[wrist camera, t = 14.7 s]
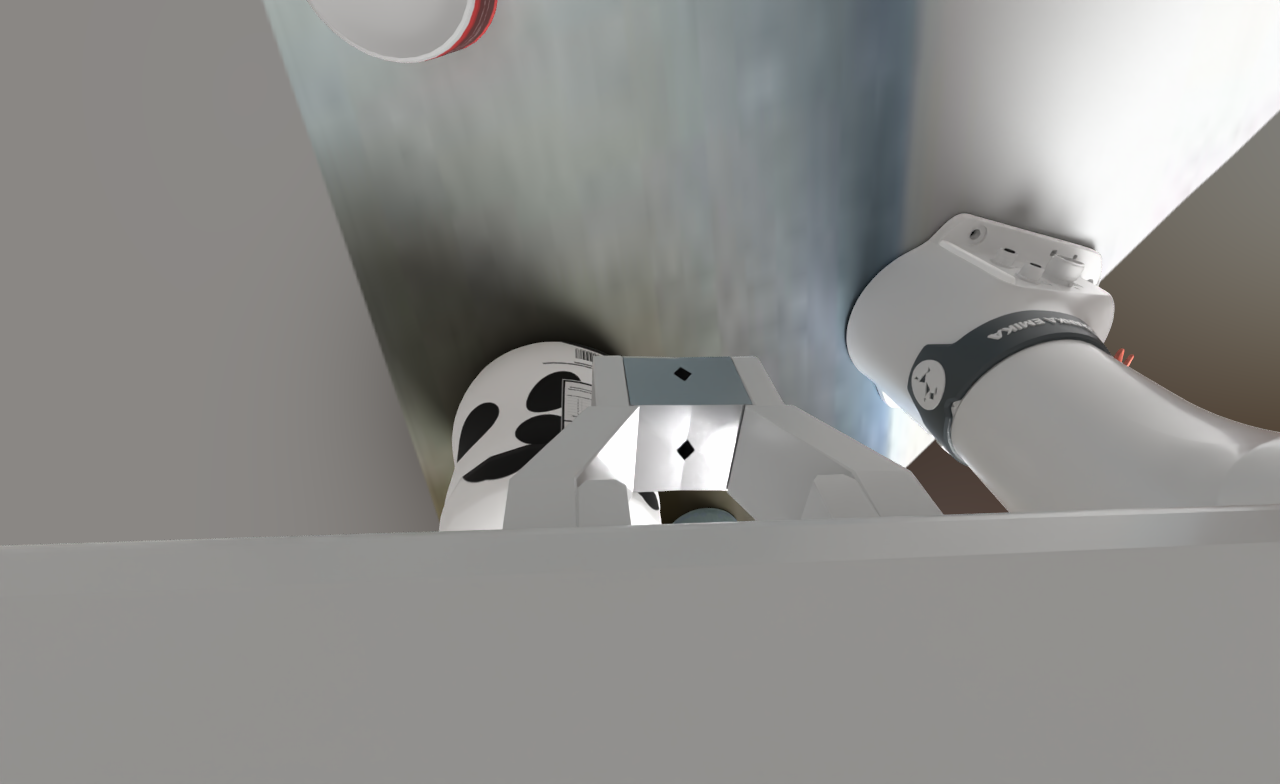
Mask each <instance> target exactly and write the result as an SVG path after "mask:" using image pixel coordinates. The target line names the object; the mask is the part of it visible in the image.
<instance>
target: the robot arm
mask: <svg viewBox="0 0 1280 784" xmlns="http://www.w3.org/2000/svg"><path fill="white" fill-rule="evenodd" d="M974 230H975V233H974V234H973V235H972V236H970V234H971V233H972V231H974ZM1101 273H1102V257H1101V255H1100V254H1099V253H1098V252H1096V251H1095V250H1093V249H1091V248H1088V247H1085V246H1082V245H1078V244H1075V243H1071V242H1067V241H1064V240H1060V239H1057V238H1053V237H1050V236H1046V235H1042V234H1039V233H1035V232H1032V231H1028V230H1025V229H1021V228H1017V227H1014V226H1010V225H1007V224H1003V223H999V222H996V221H992V220H989V219H985V218H982V217H978V216H974V215H971V214H966V213H962V214H958V215H956V216H954V217H953V218H951V219H950V220H949V221H947V222H946V223H945V224H944V225H943V226H942V227H941V228H940V229H939V230H938V231H937V232H936V233H935V234H934V235H933V236H932V237H931V238H930V239H929V240H928V241H926V242H925V243H923V244H922V245H920V246H919V247H917V248H915V249H913V250H911V251H909V252H907V253H905V254H904V255H902V256H900V257H899V258H897V259H896V260H894V261H893V262H891V263H890V264H889V265H887V266H886V267H885V268H884V269H883V270H881V271H880V272H879V273H878V274H877V275H876V276H875V277H874V278H873V279H872V281H871V282H870V283H869V284H868V285H867V287H866V288H865V289H864V291H863V292H862V294H861V295H860V297H859V298H858V300H857V302H856V304H855V306H854V308H853V310H852V313H851V316H850V319H849V322H848V327H847V348H848V352H849V355H850V358H851V360H852V362H853V363H854V365H855V366H856V368H857V369H858V370H859V371H860V372H861V373H862V374H864V375H865V376H866V377H868V378H869V379H870V380H872V381H873V382H874V383H875V384H876V387H877V390H878V392H879V395H880V397H881V399H882V400H883V401H884V402H885V403H886V404H887V405H888V406H890V407H893V408H897V407H900V408H901V409H902V410H903V411H904V412H905V413H906V414H907V415H908V416H909V417H910V418H911V419H913V420H914V421H915V422H916V423H917V424H918V425H919V426H920V427H921V428H922V429H924V430H925V431H926V432H927V433H928V434H929V435H931V436H932V437H935V438H936V440H937V443H938V444H939V445H940V446H941V447H942V448H943V449H944V450H945V451H946V452H948V453H949V454H950V455H951V456H953V458H955V459H956V460H957V461H958V462H960V463H962V464H964V465H966V466H969V467H970V468H971V469H972V471H973V472H974V473H975V474H976V475H977V476H978V477H979V479H980V480H981V481H982V482H983V483H984V484H985V485H986V486H987V488H988V489H989V490H990V491H991V492H992V493H993V494H994V496H995V497H996V498H997V499H998V500H999V501H1000V502H1001V503H1002V504H1003V505H1004V507H1005V508H1006V509H1007V510H1008V511H1009V512H1010V513H984V514H955V515H943V514H942V512H941V511H940V510H939V508H938V507H937V506H936V504H935V503H934V502H933V500H932V499H931V498H930V496H929V495H928V493H927V492H926V491H925V489H924V488H923V487H922V485H921V484H920V483H919V481H918V480H917V479H916V477H915V476H914V475H913V473H912V472H911V471H909V470H908V469H906V468H904V467H902V466H901V465H899V464H897V463H895V462H893V461H892V460H890V459H888V458H886V457H884V456H883V455H881V454H879V453H877V452H876V451H874V450H872V449H870V448H868V447H867V446H865V445H863V444H861V443H860V442H858V441H856V440H854V439H852V438H851V437H849V436H847V435H845V434H844V433H842V432H840V431H838V430H836V429H835V428H833V427H831V426H829V425H828V424H826V423H824V422H822V421H820V420H819V419H817V418H815V417H813V416H811V415H810V414H808V413H806V412H804V411H803V410H801V409H799V408H797V407H795V406H794V405H784V403H783V401H782V399H781V398H780V396H779V394H778V392H777V390H776V389H775V387H774V385H773V383H772V382H771V380H770V378H769V376H768V375H767V373H766V371H765V369H764V367H763V366H762V364H761V362H760V360H759V359H758V358H757V357H755V356H741V357H688V358H676V357H643V356H622V357H621V356H620V355H618V356H593V362H592V399H591V406H588V407H587V408H586V409H585V410H584V411H582V412H581V413H580V414H579V415H578V416H577V417H576V418H575V419H574V420H573V421H572V422H571V423H570V424H568V425H567V426H566V427H565V428H564V429H563V430H562V431H561V432H560V433H559V434H558V435H557V436H556V437H555V438H553V439H552V440H551V441H550V442H549V443H548V444H547V445H546V446H545V447H544V448H543V449H542V450H541V451H539V452H538V453H537V454H536V455H535V456H534V457H533V458H532V459H531V460H530V461H529V462H528V463H527V464H526V465H524V466H523V467H522V468H521V469H520V470H519V471H518V472H517V473H516V474H515V475H514V476H513V477H512V478H510V479H509V485H508V492H507V500H506V507H505V514H504V521H503V528H502V529H496V530H466V531H437V532H436V531H435V532H408V533H407V532H405V533H377V534H376V533H375V534H344V535H315V536H314V535H313V536H284V537H283V536H282V537H253V538H224V539H223V538H222V539H192V540H161V541H131V542H104V543H103V542H100V543H71V544H40V545H11V546H0V784H1280V432H1275V431H1269V430H1265V429H1261V428H1256V427H1252V426H1249V425H1245V424H1242V423H1239V422H1235V421H1232V420H1229V419H1226V418H1224V417H1221V416H1218V415H1215V414H1213V413H1211V412H1209V411H1206V410H1204V409H1202V408H1199V407H1197V406H1195V405H1193V404H1191V403H1189V402H1187V401H1186V400H1184V399H1182V398H1180V397H1179V396H1177V395H1175V394H1173V393H1172V392H1170V391H1168V390H1167V389H1165V388H1163V387H1162V386H1160V385H1158V384H1157V383H1155V382H1153V381H1152V380H1150V379H1148V378H1146V377H1145V376H1143V375H1141V374H1140V373H1138V372H1136V371H1135V370H1133V369H1132V368H1130V367H1128V366H1129V364H1130V362H1131V360H1132V359H1133V357H1134V356H1133V355H1130V356H1129V357H1128V358H1127V359H1126V360H1125V362H1124V363H1122V358H1123V354H1124V349H1119V350H1118V351H1117V353H1116V354H1115V356H1114V358H1113V357H1112V356H1111V354H1110V352H1109V351H1108V349H1107V348H1106V347H1105V345H1104V344H1103V343H1104V341H1105V339H1106V337H1107V335H1108V332H1109V330H1110V327H1111V324H1112V321H1113V315H1114V302H1113V299H1112V296H1111V295H1110V294H1109V293H1107V292H1106V291H1105V290H1103V289H1101V288H1100V287H1099V283H1100V279H1101ZM673 490H727V493H728V494H729V495H730V496H731V497H732V498H733V499H734V500H735V501H737V502H738V503H739V504H740V505H741V506H742V507H743V508H744V509H745V510H746V511H747V512H748V513H749V514H750V515H751V516H752V517H753V518H754V519H755V520H756V521H741V522H710V523H680V524H649V525H631V519H630V511H629V504H628V502H629V500H630V499H631V497H632V495H633V493H635V492H654V491H673Z"/></svg>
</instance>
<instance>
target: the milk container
mask: <svg viewBox="0 0 1280 784" xmlns="http://www.w3.org/2000/svg"><path fill="white" fill-rule="evenodd" d="M593 356H609V355H607V354H606V353H604V352H602V351H599V350H597V349H594V348H591V347H588V346H584V345H581V344H577V343H572V342H539V343H534V344H530V345H526V346H523V347H519V348H517V349H514V350H512V351H509V352H507V353H505V354H503V355H502V356H500V357H498V358H497V359H495V360H494V361H492V362H491V363H490V364H488V365H487V366H486V367H485V368H484V369H483V370H482V371H481V372H480V373H479V374H478V376H477V377H476V378H475V379H474V381H473V382H472V383H471V385H470V386H469V388H468V390H467V391H466V393H465V395H464V397H463V399H462V401H461V403H460V405H459V408H458V410H457V413H456V417H455V421H454V425H453V434H452V449H453V457H454V464H455V470H454V473H453V476H452V479H451V482H450V485H449V489H448V492H447V496H446V500H445V506H444V508H443V511H442V515H441V518H440V527H439V531H466V530H496V529H502V528H503V521H504V514H505V507H506V500H507V492H508V485H509V479H510V478H512V477H513V476H514V475H515V474H516V473H517V472H518V471H519V470H520V469H521V468H522V467H523V466H524V465H526V464H527V463H528V462H529V461H530V460H531V459H532V458H533V457H534V456H535V455H536V454H537V453H538V452H539V451H541V450H542V449H543V448H544V447H545V446H546V445H547V444H548V443H549V442H550V441H551V440H552V439H553V438H555V437H556V436H557V435H558V434H559V433H560V432H561V431H562V430H563V429H564V428H565V427H566V426H567V425H568V424H570V423H571V422H572V421H573V420H574V419H575V418H576V417H577V416H578V415H579V414H580V413H581V412H582V411H584V410H585V409H586V408H587V407H588V406H591V399H592V362H593ZM628 504H629V511H630V519H631V525H649V524H662V523H661V517H660V500H659V495H658V491H654V492H635V493H633V495H632V497H631V499H630V500H629V502H628Z"/></svg>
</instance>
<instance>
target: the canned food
mask: <svg viewBox="0 0 1280 784" xmlns="http://www.w3.org/2000/svg"><path fill="white" fill-rule="evenodd" d="M307 2H308V3H309V5H310V6H311V7H312V9H313V10H314V11H315V13H316V14H317V15H318V17H319V18H320V19H321V20H322V21H323V22H324V23H325V24H326V25H327V26H328V27H329V28H330V29H331V30H332V31H333V32H334V33H335V34H337V35H338V36H339V37H341V38H342V39H343V40H344V41H346V42H347V43H348V44H350V45H351V46H353V47H355V48H357V49H359V50H361V51H362V52H364V53H366V54H369V55H371V56H374V57H377V58H380V59H383V60H387V61H394V62H401V63H412V62H422V61H427V60H430V59H434V58H437V57H440V56H443V55H446V54H449V53H452V52H455V51H458V50H460V49H463V48H466V47H468V46H469V45H471V44H473V43H474V42H476V41H477V40H478V39H479V38H480V37H481V36H482V35H483V34H484V33H485V32H486V30H487V28H488V27H489V25H490V24H491V22H492V19H493V17H494V14H495V11H496V7H497V0H307Z"/></svg>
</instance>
